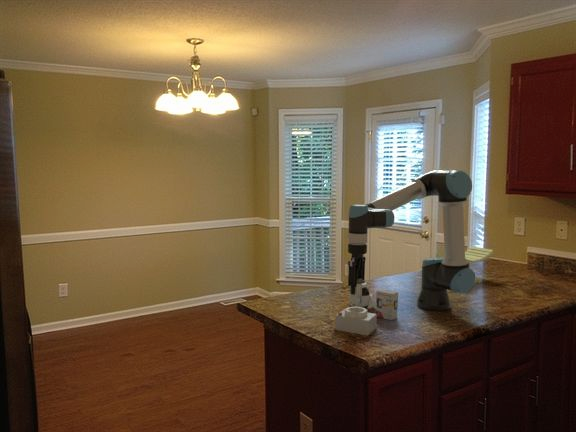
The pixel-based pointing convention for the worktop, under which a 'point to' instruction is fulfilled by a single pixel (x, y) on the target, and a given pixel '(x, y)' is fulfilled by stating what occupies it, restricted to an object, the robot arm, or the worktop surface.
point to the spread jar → (364, 298)
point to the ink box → (386, 304)
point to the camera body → (355, 321)
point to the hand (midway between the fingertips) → (355, 300)
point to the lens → (358, 292)
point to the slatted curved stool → (472, 256)
